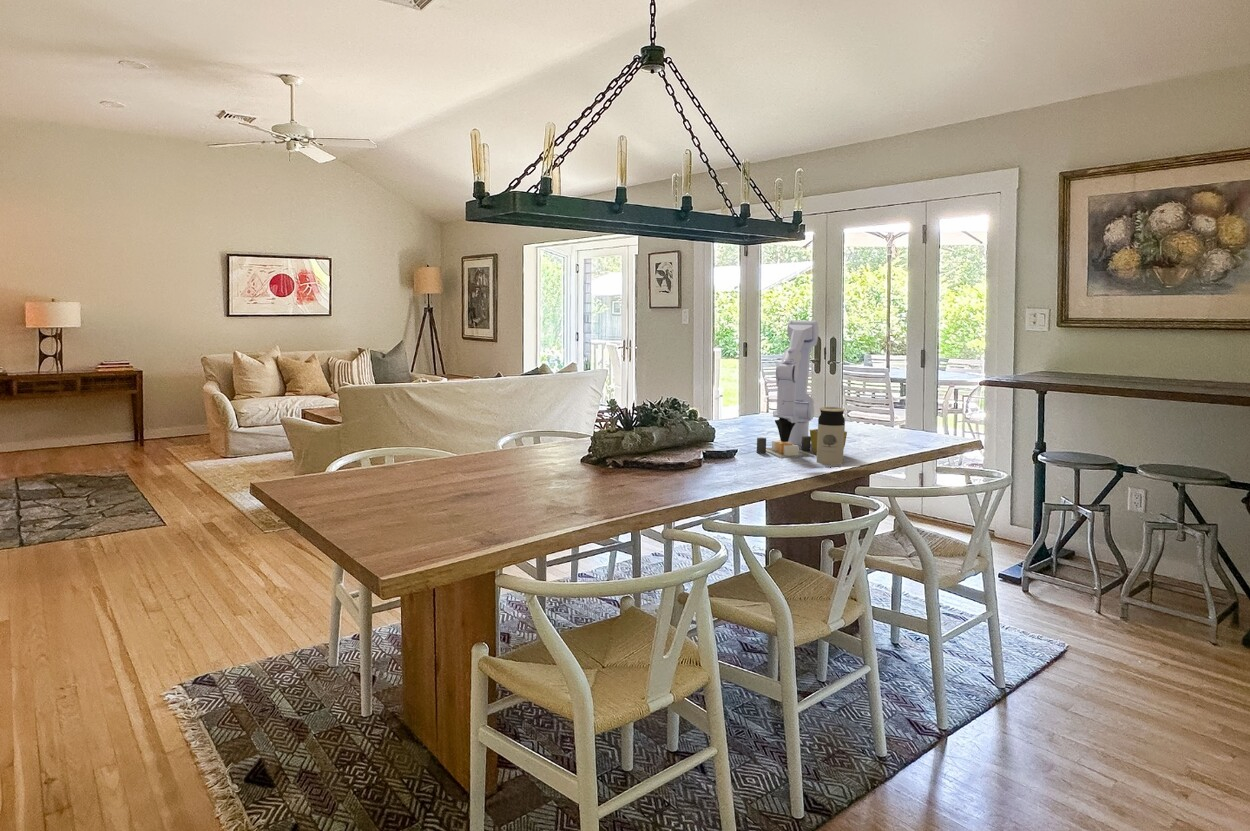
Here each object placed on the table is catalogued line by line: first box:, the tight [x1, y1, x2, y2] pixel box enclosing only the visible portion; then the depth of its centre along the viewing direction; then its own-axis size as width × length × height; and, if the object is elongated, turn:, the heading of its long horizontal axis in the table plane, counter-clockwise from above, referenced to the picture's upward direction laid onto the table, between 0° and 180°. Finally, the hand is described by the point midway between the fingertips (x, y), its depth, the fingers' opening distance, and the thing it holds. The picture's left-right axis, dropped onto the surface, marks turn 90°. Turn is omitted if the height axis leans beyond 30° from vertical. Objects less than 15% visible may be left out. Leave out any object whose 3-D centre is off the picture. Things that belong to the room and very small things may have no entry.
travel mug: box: [816, 406, 846, 469], centre depth 245 cm, size 8×8×18 cm
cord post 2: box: [800, 435, 812, 453], centre depth 265 cm, size 3×3×6 cm
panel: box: [766, 447, 815, 459], centre depth 262 cm, size 18×12×2 cm, turn 14°
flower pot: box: [809, 428, 848, 455], centre depth 259 cm, size 9×9×9 cm
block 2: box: [778, 442, 793, 453], centre depth 262 cm, size 2×4×3 cm, turn 104°
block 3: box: [784, 444, 800, 456], centre depth 257 cm, size 2×4×3 cm, turn 104°
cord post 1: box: [756, 437, 767, 455], centre depth 261 cm, size 3×3×6 cm
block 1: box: [771, 439, 787, 451], centre depth 266 cm, size 2×4×3 cm, turn 104°
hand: (784, 441), depth 262 cm, fingers closed
